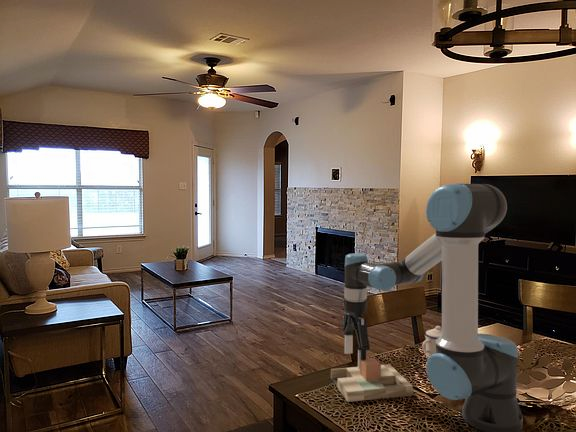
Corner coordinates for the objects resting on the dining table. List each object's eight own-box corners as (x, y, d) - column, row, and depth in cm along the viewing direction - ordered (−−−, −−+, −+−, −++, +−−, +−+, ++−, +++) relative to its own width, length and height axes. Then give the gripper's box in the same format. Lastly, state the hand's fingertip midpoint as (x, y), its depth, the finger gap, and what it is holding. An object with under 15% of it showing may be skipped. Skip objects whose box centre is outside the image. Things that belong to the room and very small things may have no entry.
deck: (412, 395, 135) (412, 386, 135) (347, 401, 131) (347, 392, 131) (389, 372, 152) (389, 364, 152) (330, 377, 148) (330, 369, 147)
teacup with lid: (437, 350, 172) (438, 321, 171) (455, 359, 164) (456, 328, 163) (414, 356, 167) (414, 325, 166) (431, 364, 159) (432, 333, 158)
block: (380, 379, 140) (380, 363, 139) (365, 380, 139) (366, 365, 138) (374, 372, 145) (374, 357, 144) (360, 374, 144) (360, 359, 143)
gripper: (380, 308, 138) (379, 374, 139) (353, 290, 162) (353, 346, 164) (357, 309, 136) (357, 376, 138) (334, 291, 161) (333, 348, 162)
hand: (355, 360), depth 151 cm, fingers open, 13 cm apart
